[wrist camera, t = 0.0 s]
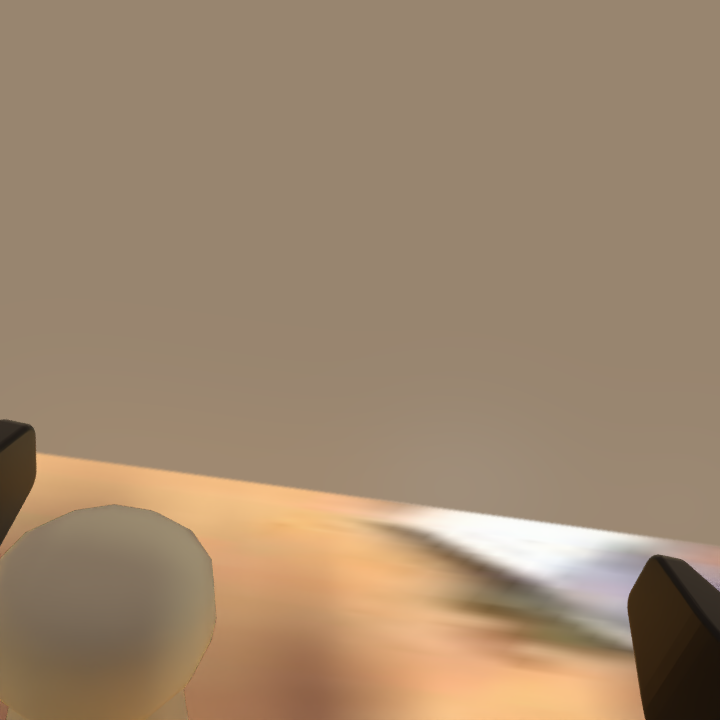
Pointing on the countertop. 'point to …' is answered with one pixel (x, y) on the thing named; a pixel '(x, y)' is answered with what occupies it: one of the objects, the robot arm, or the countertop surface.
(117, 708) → the salt shaker
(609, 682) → the countertop surface
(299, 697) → the countertop surface
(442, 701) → the countertop surface
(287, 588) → the countertop surface
